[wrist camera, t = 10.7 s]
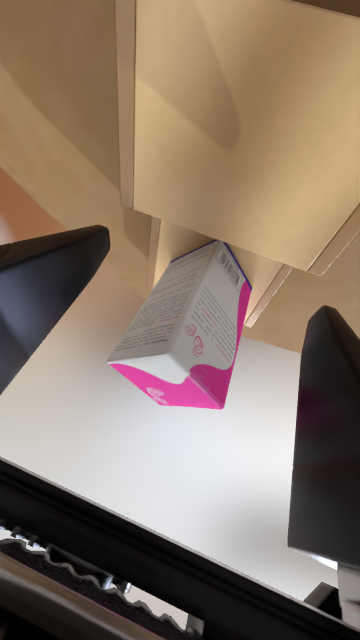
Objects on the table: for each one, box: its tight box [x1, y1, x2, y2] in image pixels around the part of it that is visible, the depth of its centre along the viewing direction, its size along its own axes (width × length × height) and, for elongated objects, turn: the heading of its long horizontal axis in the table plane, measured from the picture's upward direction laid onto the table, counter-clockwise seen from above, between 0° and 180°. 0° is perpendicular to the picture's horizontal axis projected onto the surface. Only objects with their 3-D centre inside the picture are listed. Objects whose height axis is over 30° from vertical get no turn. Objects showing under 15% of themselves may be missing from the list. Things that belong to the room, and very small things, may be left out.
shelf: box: [115, 0, 360, 327], centre depth 17 cm, size 12×19×8 cm, turn 170°
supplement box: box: [107, 239, 252, 409], centre depth 17 cm, size 6×6×12 cm
